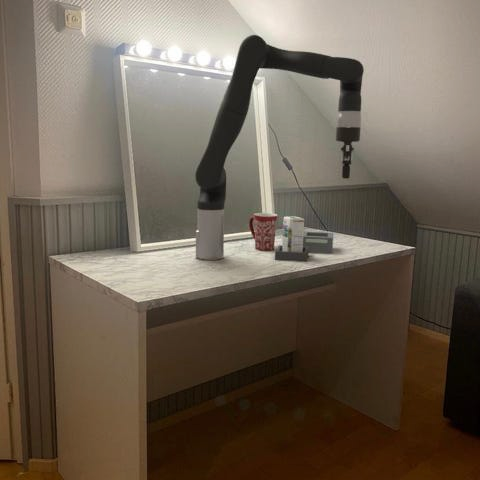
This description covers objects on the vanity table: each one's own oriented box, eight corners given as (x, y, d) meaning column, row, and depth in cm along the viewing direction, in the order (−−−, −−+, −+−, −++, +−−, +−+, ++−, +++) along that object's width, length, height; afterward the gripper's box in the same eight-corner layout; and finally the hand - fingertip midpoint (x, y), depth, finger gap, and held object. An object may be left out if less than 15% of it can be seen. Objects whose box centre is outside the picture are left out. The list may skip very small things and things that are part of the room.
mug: (281, 249, 190) (282, 214, 187) (264, 252, 184) (265, 216, 181) (258, 244, 199) (259, 211, 196) (242, 247, 193) (242, 212, 190)
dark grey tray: (274, 259, 172) (275, 251, 171) (278, 253, 182) (278, 245, 182) (306, 261, 170) (306, 253, 169) (308, 255, 180) (308, 247, 180)
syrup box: (281, 256, 178) (282, 216, 175) (295, 255, 180) (297, 215, 177) (288, 259, 173) (289, 218, 170) (303, 258, 175) (304, 218, 172)
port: (299, 252, 185) (300, 236, 184) (302, 246, 197) (302, 231, 196) (332, 254, 183) (333, 238, 182) (332, 247, 195) (333, 232, 194)
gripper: (336, 127, 165) (334, 176, 168) (336, 125, 151) (333, 178, 154) (359, 127, 163) (356, 176, 166) (361, 125, 149) (358, 179, 152)
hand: (345, 177), depth 160 cm, fingers open, 8 cm apart
